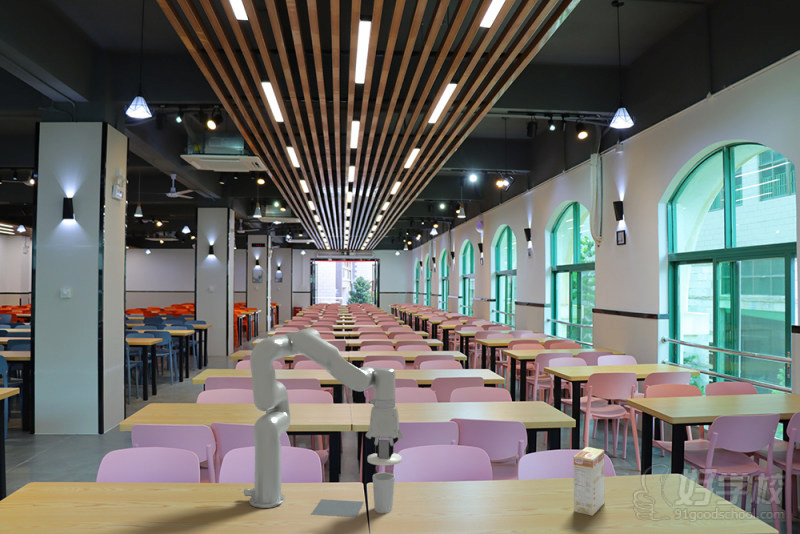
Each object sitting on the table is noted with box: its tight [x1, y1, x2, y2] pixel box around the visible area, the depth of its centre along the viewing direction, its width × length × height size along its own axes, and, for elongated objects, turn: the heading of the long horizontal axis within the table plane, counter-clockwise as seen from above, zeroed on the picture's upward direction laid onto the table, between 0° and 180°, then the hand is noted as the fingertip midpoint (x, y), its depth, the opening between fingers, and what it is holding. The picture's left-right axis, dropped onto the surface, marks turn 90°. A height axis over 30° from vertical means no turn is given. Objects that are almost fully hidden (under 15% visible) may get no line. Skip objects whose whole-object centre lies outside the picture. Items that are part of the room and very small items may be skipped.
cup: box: [372, 472, 396, 514], centre depth 201 cm, size 8×8×12 cm
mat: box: [310, 498, 365, 518], centre depth 202 cm, size 16×14×1 cm
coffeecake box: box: [573, 446, 606, 517], centre depth 206 cm, size 15×7×20 cm, turn 145°
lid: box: [367, 438, 402, 466], centre depth 202 cm, size 12×12×7 cm
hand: (384, 455), depth 202 cm, fingers closed on lid, 3 cm apart
